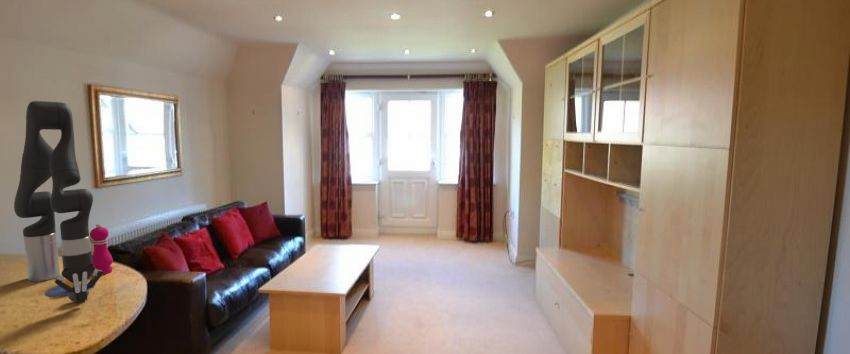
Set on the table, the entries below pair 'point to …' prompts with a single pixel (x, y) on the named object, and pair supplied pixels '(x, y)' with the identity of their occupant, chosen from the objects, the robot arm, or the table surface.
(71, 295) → the gray ball
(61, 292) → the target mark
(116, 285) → the table surface
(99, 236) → the pepper mill
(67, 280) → the object ball
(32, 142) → the robot arm
